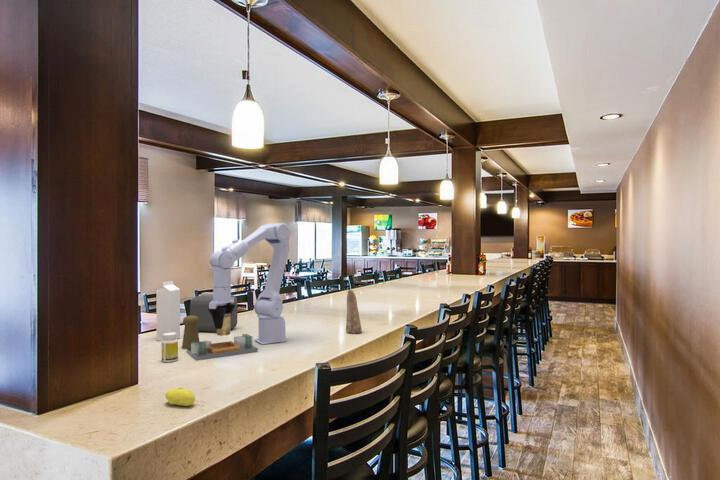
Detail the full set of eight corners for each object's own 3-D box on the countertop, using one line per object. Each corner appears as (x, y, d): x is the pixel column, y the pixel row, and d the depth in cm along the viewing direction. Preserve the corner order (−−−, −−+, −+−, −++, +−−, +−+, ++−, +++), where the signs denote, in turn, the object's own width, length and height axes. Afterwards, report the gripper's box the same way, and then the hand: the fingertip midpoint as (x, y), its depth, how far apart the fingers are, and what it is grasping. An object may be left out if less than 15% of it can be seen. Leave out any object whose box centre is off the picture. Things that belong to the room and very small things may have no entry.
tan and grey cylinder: (220, 332, 158) (220, 312, 158) (233, 333, 157) (233, 312, 157) (213, 335, 154) (213, 314, 154) (226, 335, 152) (226, 314, 153)
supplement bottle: (181, 359, 146) (181, 332, 146) (170, 363, 141) (170, 335, 141) (169, 358, 147) (168, 331, 147) (158, 361, 143) (158, 334, 143)
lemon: (186, 410, 102) (185, 393, 102) (160, 405, 106) (160, 388, 106) (200, 404, 106) (200, 387, 106) (175, 399, 110) (175, 383, 110)
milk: (156, 340, 173) (155, 281, 173) (166, 337, 179) (166, 280, 179) (170, 341, 171) (169, 282, 171) (180, 338, 177) (179, 280, 177)
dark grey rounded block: (237, 328, 196) (237, 292, 196) (223, 334, 185) (223, 295, 185) (202, 327, 200) (202, 291, 200) (187, 332, 189) (187, 294, 189)
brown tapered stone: (345, 333, 189) (348, 336, 183) (338, 290, 188) (341, 292, 182) (360, 330, 191) (363, 333, 185) (353, 287, 189) (357, 289, 184)
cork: (194, 349, 159) (194, 317, 159) (178, 348, 160) (178, 317, 160) (203, 345, 165) (203, 314, 165) (188, 344, 166) (188, 314, 166)
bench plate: (244, 344, 166) (244, 331, 166) (257, 351, 156) (257, 338, 156) (185, 352, 155) (185, 338, 155) (195, 360, 144) (195, 345, 144)
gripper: (223, 289, 148) (223, 331, 148) (242, 285, 162) (242, 323, 162) (202, 289, 149) (203, 331, 149) (223, 284, 163) (223, 323, 163)
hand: (222, 327), depth 155 cm, fingers closed on tan and grey cylinder, 4 cm apart
